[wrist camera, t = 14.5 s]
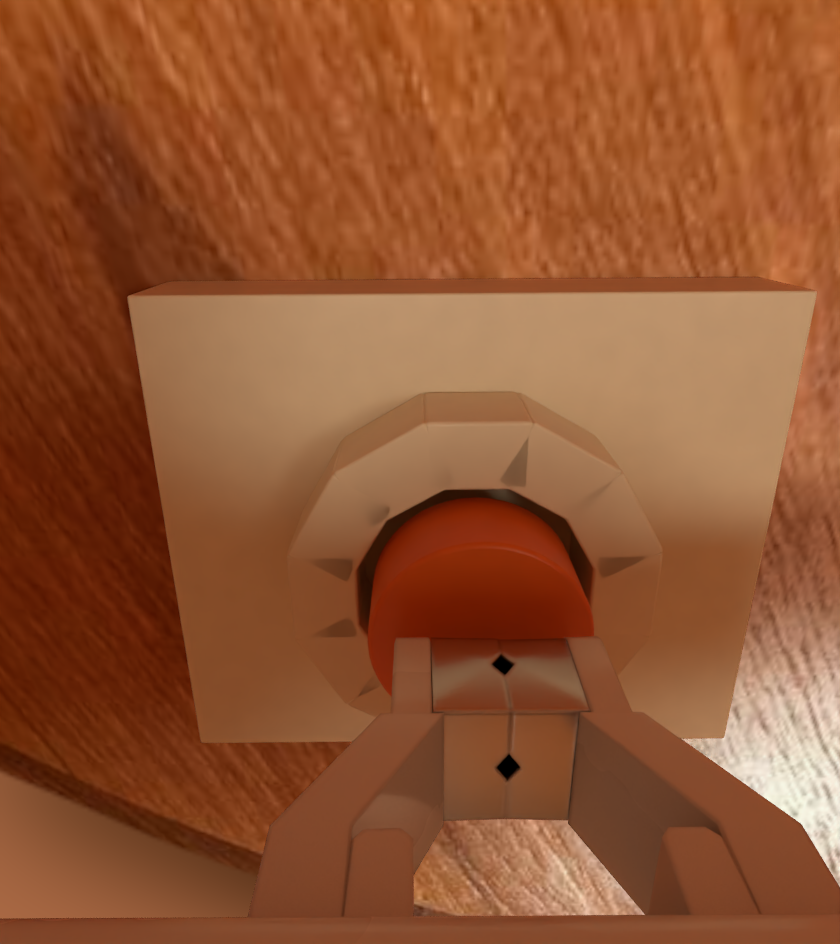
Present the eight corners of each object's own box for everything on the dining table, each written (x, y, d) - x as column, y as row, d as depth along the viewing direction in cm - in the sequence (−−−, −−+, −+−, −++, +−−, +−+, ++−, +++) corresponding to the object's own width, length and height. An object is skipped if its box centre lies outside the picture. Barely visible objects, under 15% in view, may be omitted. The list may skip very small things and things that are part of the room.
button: (376, 667, 13) (371, 735, 11) (369, 495, 12) (362, 544, 10) (563, 666, 13) (585, 733, 11) (579, 494, 12) (606, 543, 10)
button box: (224, 680, 17) (173, 810, 14) (168, 280, 14) (76, 311, 10) (688, 676, 18) (761, 804, 14) (759, 276, 14) (885, 306, 10)
